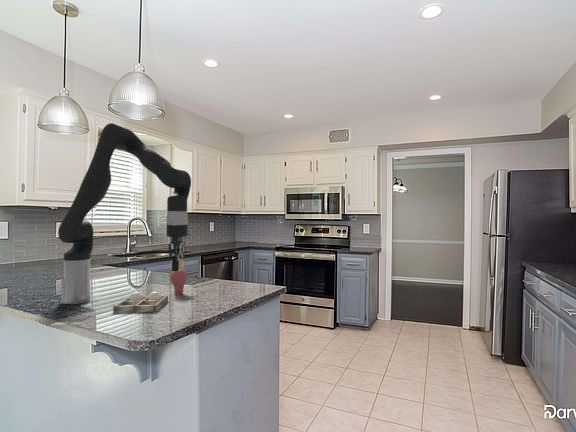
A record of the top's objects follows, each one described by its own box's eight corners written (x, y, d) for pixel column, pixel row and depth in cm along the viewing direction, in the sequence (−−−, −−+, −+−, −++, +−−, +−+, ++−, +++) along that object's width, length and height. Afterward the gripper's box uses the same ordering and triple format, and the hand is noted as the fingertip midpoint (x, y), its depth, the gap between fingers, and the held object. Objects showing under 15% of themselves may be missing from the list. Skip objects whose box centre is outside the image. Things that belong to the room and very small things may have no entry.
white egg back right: (146, 305, 129) (146, 293, 129) (150, 302, 134) (150, 290, 134) (159, 305, 129) (159, 292, 129) (163, 302, 134) (162, 289, 134)
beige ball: (168, 271, 123) (168, 258, 123) (172, 269, 127) (172, 256, 127) (182, 271, 123) (182, 258, 123) (185, 269, 128) (185, 256, 128)
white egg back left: (127, 306, 128) (127, 293, 128) (132, 302, 133) (132, 290, 133) (140, 305, 129) (140, 293, 129) (144, 302, 133) (144, 290, 133)
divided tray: (113, 314, 120) (113, 306, 120) (129, 303, 135) (129, 296, 134) (156, 313, 121) (156, 305, 121) (167, 303, 136) (167, 295, 136)
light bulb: (182, 298, 143) (182, 270, 143) (166, 297, 144) (166, 269, 144) (190, 294, 150) (190, 267, 149) (175, 294, 151) (175, 267, 151)
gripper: (172, 223, 132) (172, 266, 132) (160, 224, 118) (160, 273, 118) (191, 223, 132) (191, 266, 132) (182, 224, 118) (182, 273, 118)
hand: (177, 269), depth 125 cm, fingers closed on beige ball, 4 cm apart
